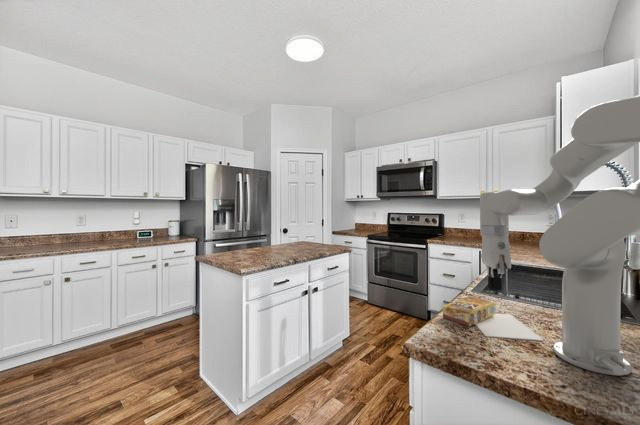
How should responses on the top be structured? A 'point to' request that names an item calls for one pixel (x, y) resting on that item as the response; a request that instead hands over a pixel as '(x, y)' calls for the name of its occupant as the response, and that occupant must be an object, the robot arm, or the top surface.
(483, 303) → the candy box
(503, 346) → the top surface
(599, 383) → the top surface
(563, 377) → the top surface
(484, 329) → the baking mat
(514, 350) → the top surface
